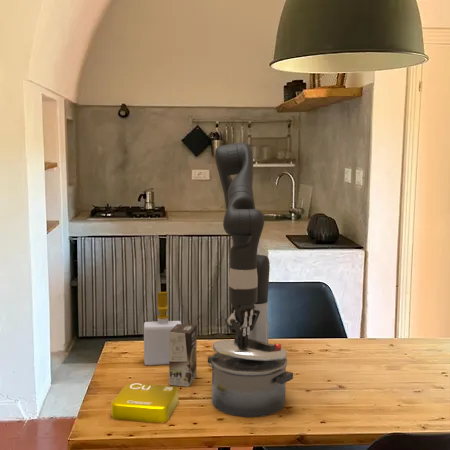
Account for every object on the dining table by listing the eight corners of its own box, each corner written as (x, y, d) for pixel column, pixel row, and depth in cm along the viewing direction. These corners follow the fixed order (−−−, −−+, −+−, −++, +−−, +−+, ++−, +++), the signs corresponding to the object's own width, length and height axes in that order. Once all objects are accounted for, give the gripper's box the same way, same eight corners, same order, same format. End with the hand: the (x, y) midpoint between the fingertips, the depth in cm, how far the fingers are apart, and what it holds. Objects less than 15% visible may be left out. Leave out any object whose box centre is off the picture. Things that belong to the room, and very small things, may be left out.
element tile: (108, 420, 154) (108, 402, 153) (127, 397, 169) (127, 380, 168) (165, 425, 152) (165, 406, 151) (180, 401, 166) (180, 384, 166)
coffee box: (189, 387, 175) (189, 333, 173) (168, 385, 176) (168, 331, 174) (197, 375, 184) (197, 324, 182) (177, 374, 185) (177, 322, 183)
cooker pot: (237, 378, 182) (237, 339, 181) (309, 399, 167) (310, 357, 165) (189, 401, 165) (189, 358, 164) (264, 427, 150) (265, 380, 148)
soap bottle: (144, 366, 192) (143, 294, 189) (144, 359, 198) (143, 289, 196) (182, 364, 194) (182, 292, 191) (181, 357, 200) (181, 288, 198)
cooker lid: (241, 341, 178) (242, 332, 178) (300, 356, 166) (301, 345, 166) (197, 347, 162) (198, 337, 162) (258, 364, 150) (260, 352, 150)
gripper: (246, 278, 166) (245, 339, 169) (216, 286, 156) (216, 351, 158) (269, 282, 162) (268, 345, 164) (239, 291, 151) (239, 357, 154)
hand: (242, 348), depth 161 cm, fingers closed
